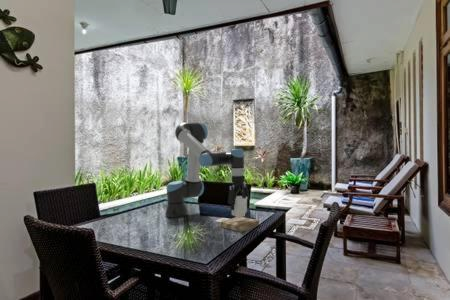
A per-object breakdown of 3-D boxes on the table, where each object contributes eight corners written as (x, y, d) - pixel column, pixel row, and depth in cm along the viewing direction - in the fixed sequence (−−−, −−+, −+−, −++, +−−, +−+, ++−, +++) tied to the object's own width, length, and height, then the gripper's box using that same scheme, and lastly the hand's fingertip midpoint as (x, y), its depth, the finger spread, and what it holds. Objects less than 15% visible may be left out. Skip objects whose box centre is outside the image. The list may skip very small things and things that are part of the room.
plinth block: (220, 227, 176) (220, 221, 176) (239, 221, 187) (238, 216, 187) (241, 232, 164) (241, 226, 164) (259, 225, 176) (259, 220, 176)
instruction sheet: (214, 221, 189) (214, 220, 189) (222, 218, 196) (222, 217, 196) (230, 223, 182) (230, 223, 182) (238, 220, 189) (238, 219, 189)
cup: (247, 218, 170) (246, 199, 170) (229, 218, 172) (229, 199, 172) (249, 214, 180) (248, 195, 179) (232, 214, 182) (232, 195, 181)
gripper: (229, 177, 165) (231, 218, 165) (254, 173, 180) (256, 210, 181) (220, 177, 170) (221, 216, 170) (245, 173, 185) (246, 209, 186)
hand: (239, 213), depth 176 cm, fingers closed on cup, 9 cm apart
